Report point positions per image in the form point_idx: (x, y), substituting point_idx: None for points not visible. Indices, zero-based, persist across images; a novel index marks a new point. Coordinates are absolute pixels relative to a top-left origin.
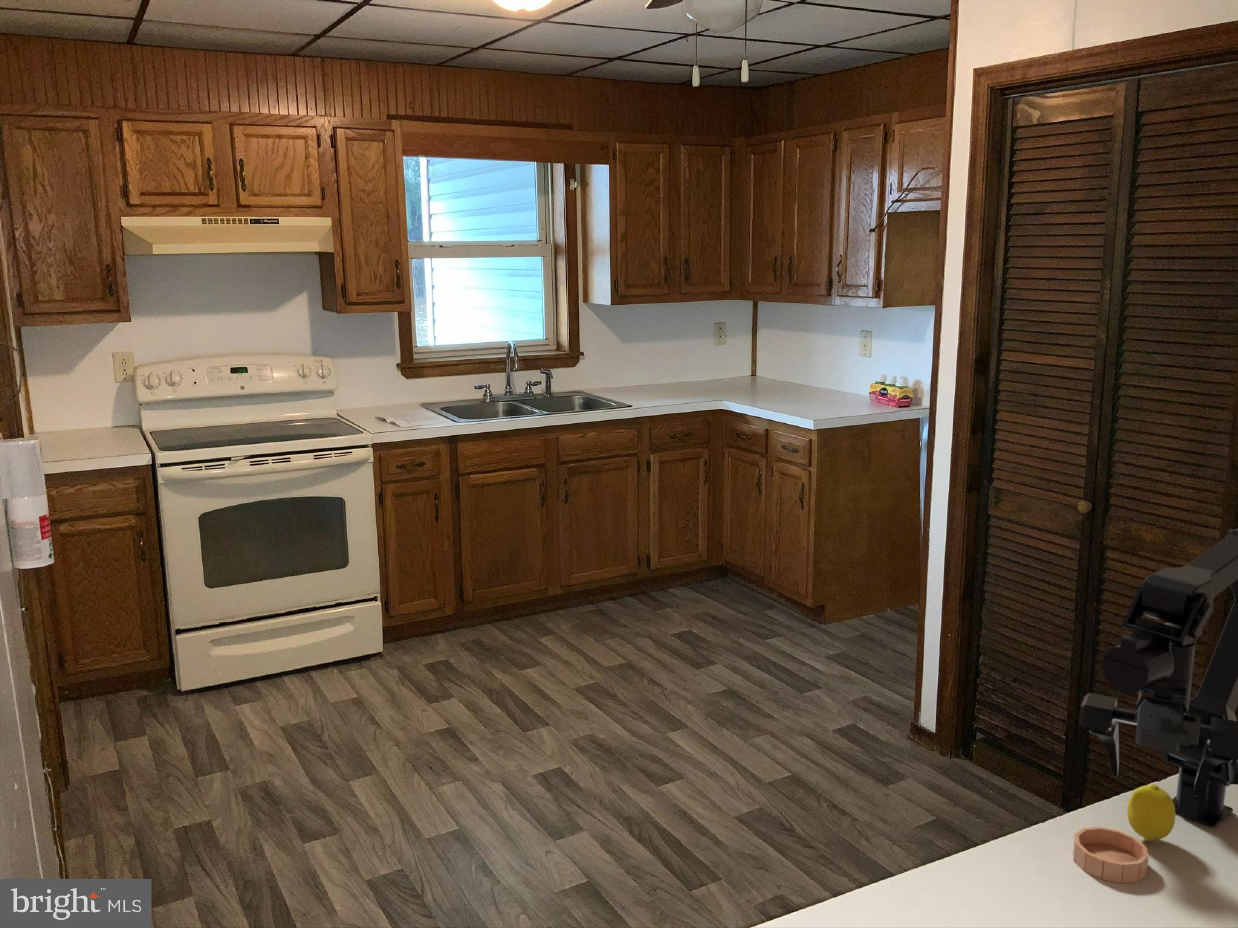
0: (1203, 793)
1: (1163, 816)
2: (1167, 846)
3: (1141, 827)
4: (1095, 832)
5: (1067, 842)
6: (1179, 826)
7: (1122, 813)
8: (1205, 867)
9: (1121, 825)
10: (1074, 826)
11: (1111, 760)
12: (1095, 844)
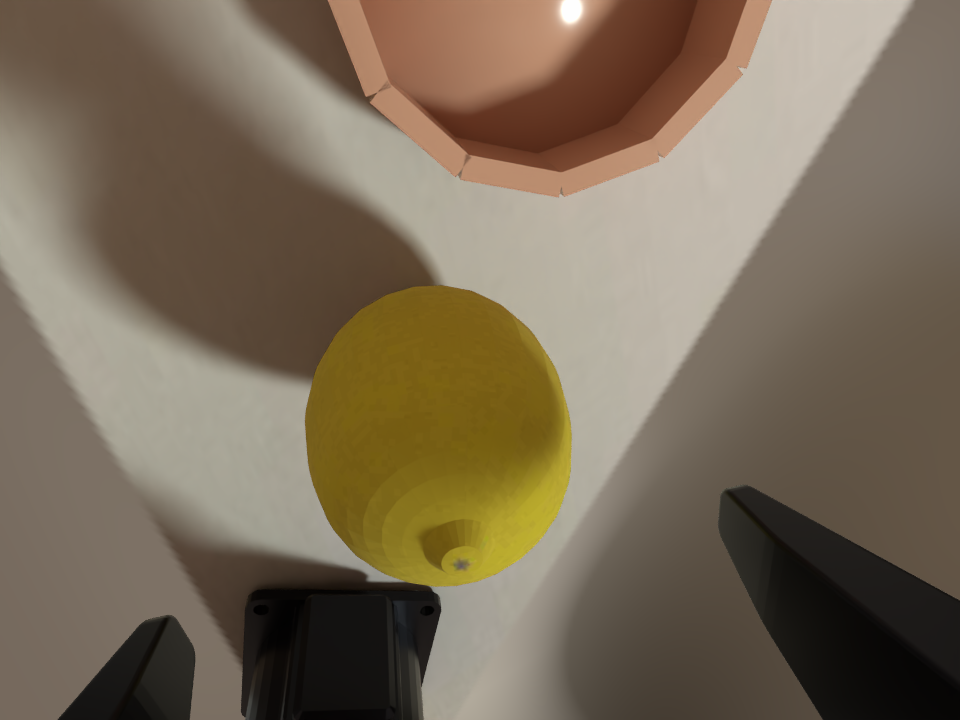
0: (291, 714)
1: (344, 375)
2: None
3: (451, 289)
4: (664, 112)
5: None
6: None
7: None
8: (130, 284)
9: None
10: (730, 233)
11: (887, 578)
12: (629, 91)
